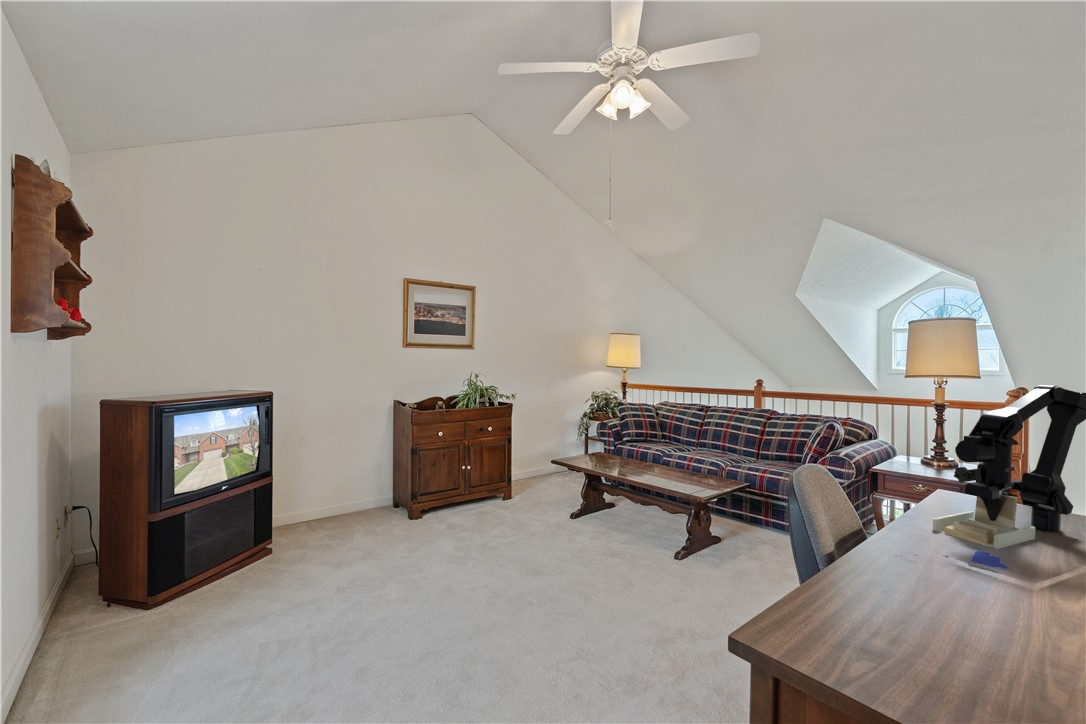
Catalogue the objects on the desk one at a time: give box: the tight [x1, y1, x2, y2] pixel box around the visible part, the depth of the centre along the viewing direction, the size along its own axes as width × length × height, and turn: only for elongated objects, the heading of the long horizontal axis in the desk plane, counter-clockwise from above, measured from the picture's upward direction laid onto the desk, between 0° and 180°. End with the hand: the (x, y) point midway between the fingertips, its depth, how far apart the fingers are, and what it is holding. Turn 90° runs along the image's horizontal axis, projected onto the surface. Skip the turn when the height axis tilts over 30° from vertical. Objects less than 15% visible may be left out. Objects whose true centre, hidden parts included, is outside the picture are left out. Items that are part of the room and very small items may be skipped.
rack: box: [932, 510, 1036, 550], centre depth 132 cm, size 18×14×4 cm
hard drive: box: [967, 548, 1009, 576], centre depth 116 cm, size 2×8×12 cm
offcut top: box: [954, 520, 997, 537], centre depth 130 cm, size 5×7×2 cm
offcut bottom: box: [943, 525, 994, 546], centre depth 130 cm, size 6×9×2 cm, turn 25°
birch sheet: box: [974, 494, 1018, 530], centre depth 134 cm, size 1×8×10 cm, turn 25°
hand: (994, 520), depth 134 cm, fingers closed on birch sheet
